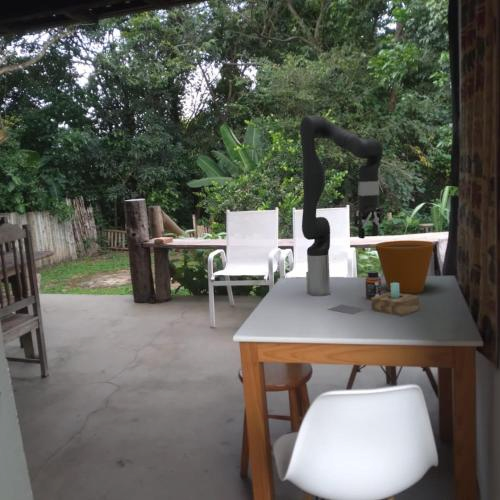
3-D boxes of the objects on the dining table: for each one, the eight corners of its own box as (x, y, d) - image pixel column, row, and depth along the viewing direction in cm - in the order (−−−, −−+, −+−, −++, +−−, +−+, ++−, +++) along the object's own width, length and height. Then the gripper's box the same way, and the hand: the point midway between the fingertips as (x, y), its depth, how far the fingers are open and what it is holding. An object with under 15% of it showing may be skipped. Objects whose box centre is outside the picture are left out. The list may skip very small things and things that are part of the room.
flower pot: (446, 289, 206) (446, 242, 203) (410, 298, 193) (409, 249, 190) (400, 282, 225) (399, 239, 223) (365, 290, 212) (363, 245, 210)
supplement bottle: (381, 301, 192) (381, 272, 190) (366, 301, 193) (365, 273, 192) (380, 297, 198) (380, 270, 196) (365, 297, 199) (365, 270, 197)
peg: (389, 310, 177) (388, 283, 176) (394, 308, 179) (393, 282, 178) (396, 311, 175) (396, 284, 173) (401, 310, 177) (400, 283, 175)
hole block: (371, 311, 177) (371, 298, 177) (390, 304, 185) (389, 291, 185) (401, 316, 168) (400, 302, 168) (419, 309, 176) (418, 295, 176)
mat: (326, 310, 182) (326, 309, 182) (341, 305, 188) (341, 304, 188) (353, 315, 173) (353, 314, 173) (367, 310, 179) (367, 309, 179)
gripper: (370, 192, 188) (370, 234, 191) (348, 194, 179) (348, 238, 181) (387, 192, 182) (387, 235, 185) (365, 195, 173) (365, 240, 176)
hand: (368, 236), depth 183 cm, fingers open, 8 cm apart
